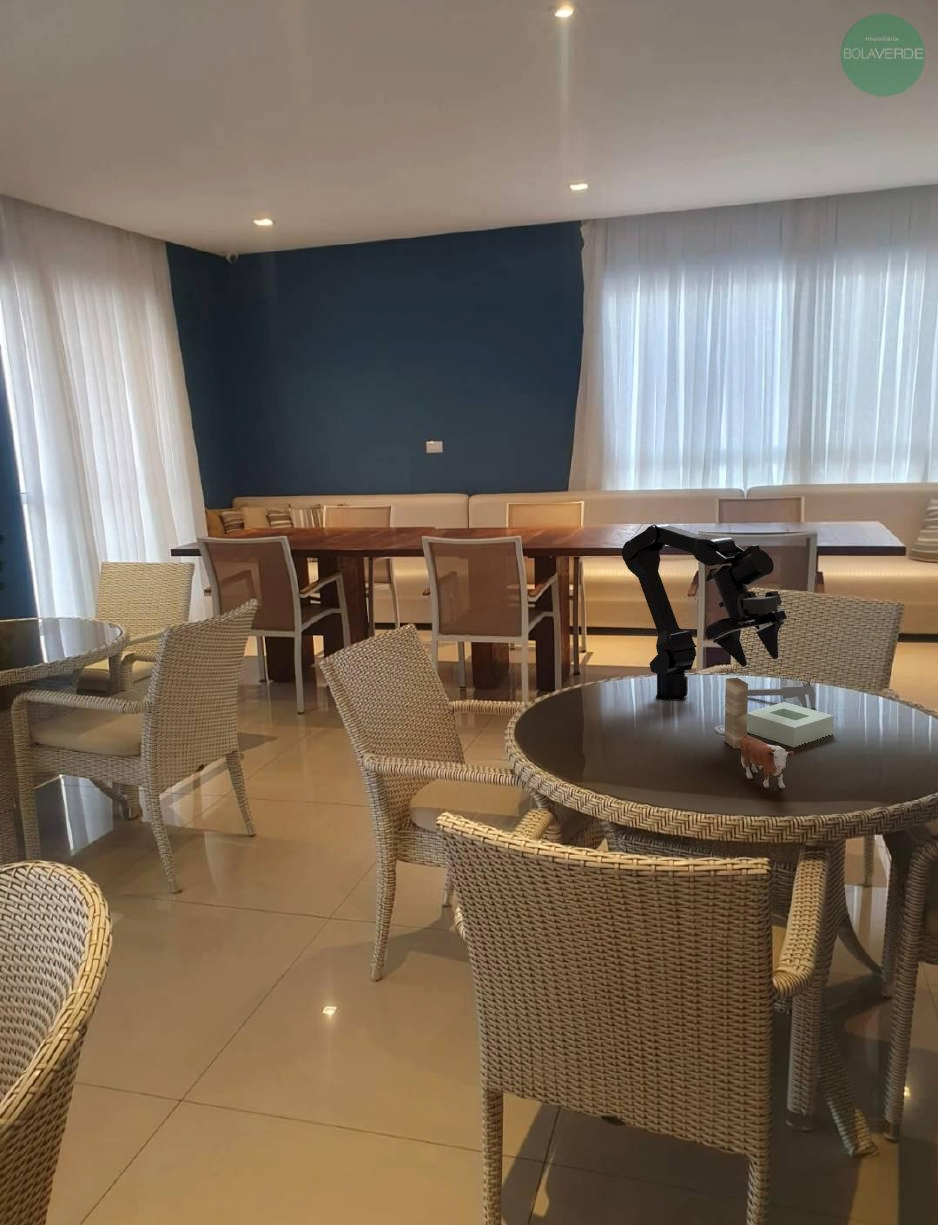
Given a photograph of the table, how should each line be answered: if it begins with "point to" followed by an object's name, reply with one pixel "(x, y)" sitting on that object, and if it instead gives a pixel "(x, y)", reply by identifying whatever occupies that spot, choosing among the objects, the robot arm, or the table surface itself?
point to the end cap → (789, 724)
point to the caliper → (789, 692)
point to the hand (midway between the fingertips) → (760, 662)
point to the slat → (735, 711)
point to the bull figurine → (763, 758)
